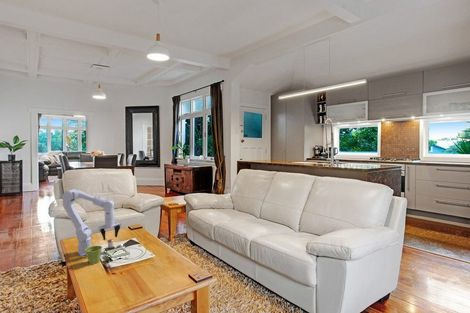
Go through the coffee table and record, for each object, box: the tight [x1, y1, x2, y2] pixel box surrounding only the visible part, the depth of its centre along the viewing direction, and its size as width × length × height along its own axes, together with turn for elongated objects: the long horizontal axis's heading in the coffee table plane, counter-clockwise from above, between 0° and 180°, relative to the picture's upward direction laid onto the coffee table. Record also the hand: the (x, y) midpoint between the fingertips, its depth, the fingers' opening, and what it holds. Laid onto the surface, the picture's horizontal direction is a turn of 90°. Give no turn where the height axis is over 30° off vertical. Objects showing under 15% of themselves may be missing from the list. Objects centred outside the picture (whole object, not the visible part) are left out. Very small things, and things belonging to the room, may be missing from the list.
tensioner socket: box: [103, 245, 117, 252], centre depth 191 cm, size 6×6×2 cm
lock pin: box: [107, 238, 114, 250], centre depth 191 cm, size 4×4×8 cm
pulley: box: [115, 244, 127, 248], centre depth 196 cm, size 6×6×3 cm
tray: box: [106, 247, 131, 258], centre depth 184 cm, size 11×11×3 cm
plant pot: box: [85, 245, 103, 265], centre depth 175 cm, size 9×9×9 cm
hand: (110, 238), depth 191 cm, fingers open, 7 cm apart
